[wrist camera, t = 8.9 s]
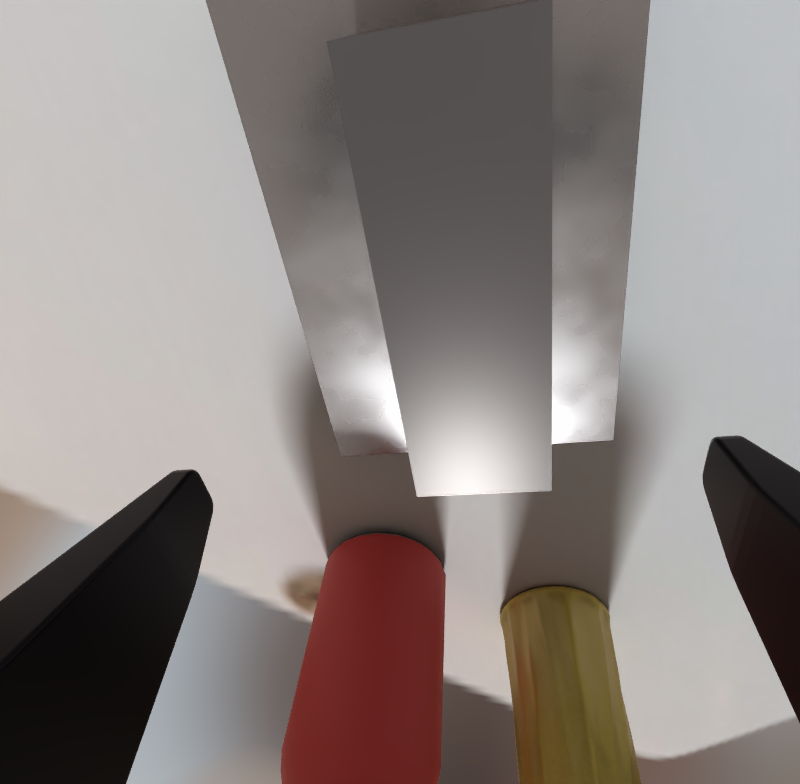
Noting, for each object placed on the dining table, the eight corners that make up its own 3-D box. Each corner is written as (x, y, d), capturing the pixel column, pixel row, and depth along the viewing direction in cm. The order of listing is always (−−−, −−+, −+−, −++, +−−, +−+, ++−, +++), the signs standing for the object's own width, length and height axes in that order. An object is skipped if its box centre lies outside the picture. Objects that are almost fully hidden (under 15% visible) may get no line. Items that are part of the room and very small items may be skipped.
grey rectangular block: (366, 30, 16) (326, 41, 11) (522, 0, 15) (552, -2, 10) (425, 396, 23) (416, 497, 18) (532, 387, 22) (551, 490, 17)
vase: (566, 654, 34) (622, 994, 22) (480, 624, 33) (491, 964, 21) (631, 606, 30) (736, 977, 19) (536, 570, 29) (587, 940, 18)
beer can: (335, 515, 28) (268, 784, 18) (458, 539, 28) (458, 818, 19) (323, 588, 32) (263, 843, 22) (432, 609, 32) (419, 870, 22)
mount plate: (635, -94, 14) (659, -107, 12) (602, 409, 23) (613, 440, 21) (230, -7, 15) (203, -9, 14) (348, 426, 24) (340, 456, 23)
